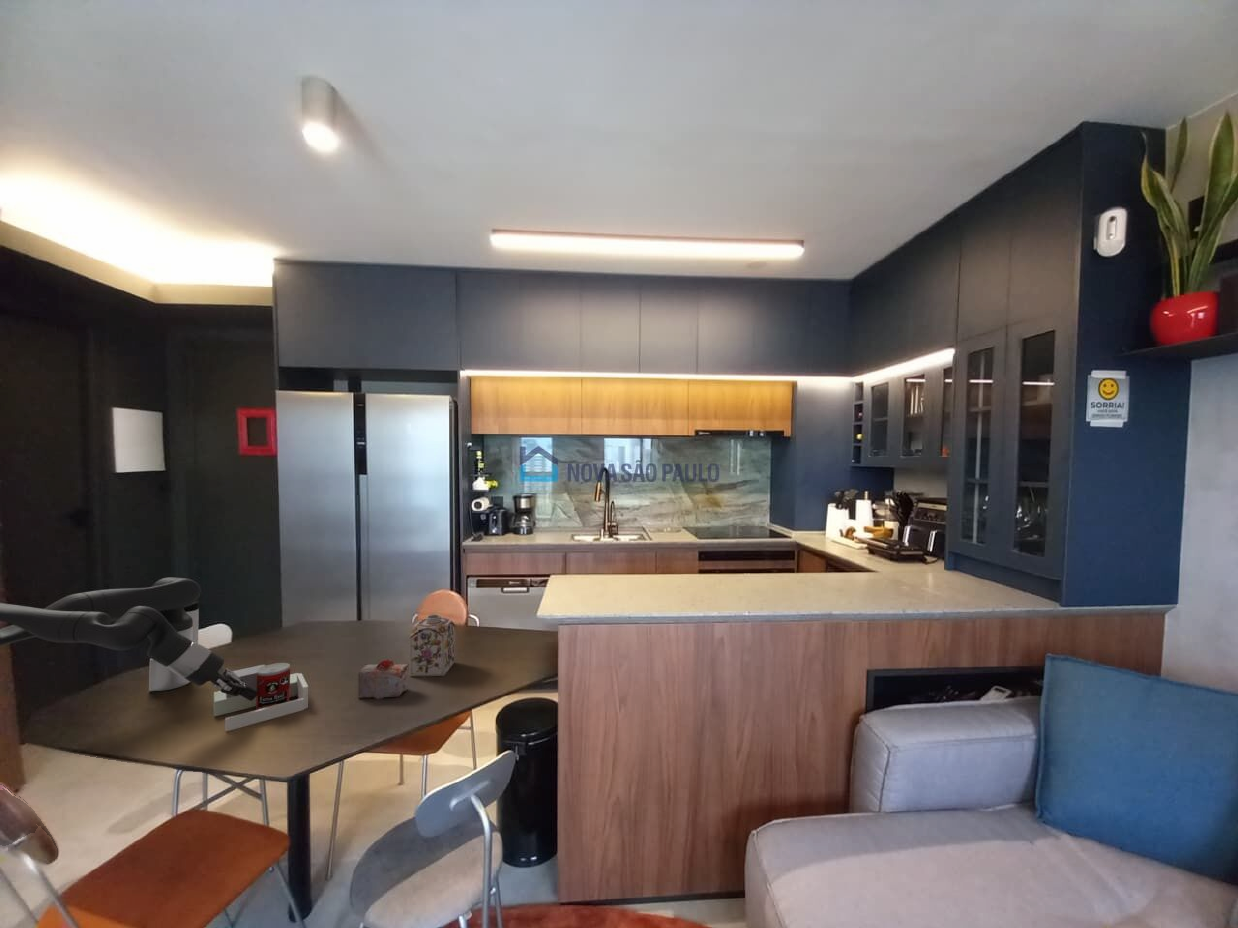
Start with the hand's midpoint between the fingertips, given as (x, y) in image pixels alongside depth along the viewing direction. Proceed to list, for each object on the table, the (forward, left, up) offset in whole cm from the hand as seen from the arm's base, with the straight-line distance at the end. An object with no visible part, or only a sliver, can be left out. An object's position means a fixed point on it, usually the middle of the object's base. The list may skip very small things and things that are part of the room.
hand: (254, 696), depth 131 cm
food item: (+32, -5, -5) cm, 32 cm away
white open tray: (+1, +4, -5) cm, 6 cm away
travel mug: (-26, +64, -5) cm, 70 cm away
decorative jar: (+48, +6, -5) cm, 48 cm away
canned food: (+4, +2, -5) cm, 7 cm away
